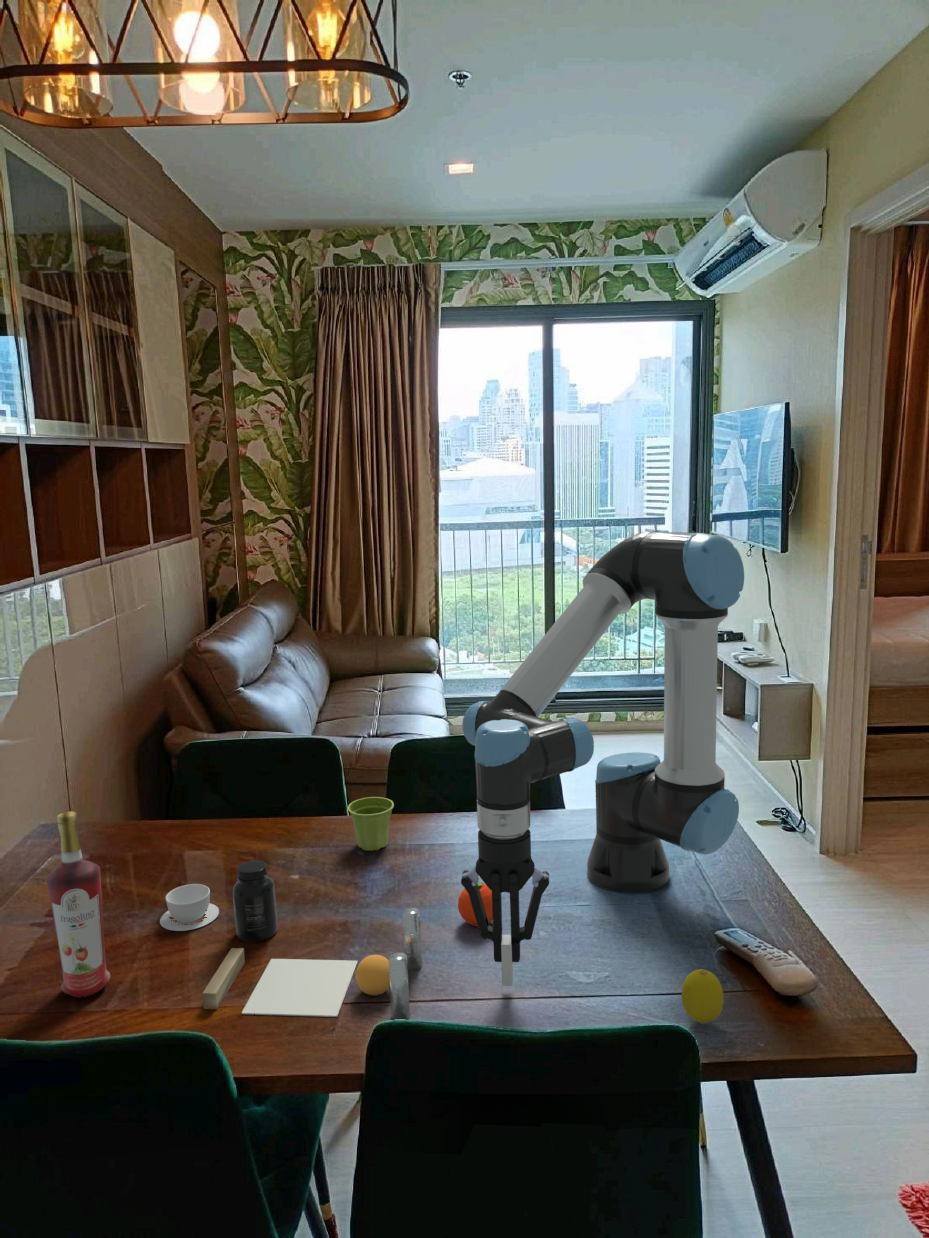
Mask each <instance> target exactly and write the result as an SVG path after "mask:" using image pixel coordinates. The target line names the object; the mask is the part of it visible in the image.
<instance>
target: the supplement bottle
mask: <svg viewBox="0 0 929 1238" xmlns="http://www.w3.org/2000/svg"><path fill="white" fill-rule="evenodd" d="M267 868H268V867H267V863H266V862H264V861H262V860H250V861H246V862H243V863H241V864H240V865H238V866H237V868H236V869H237V871H236V872H237V876H236V878H237V881H236V883H235V884H234V886H233V888H232V898H233V909H234V921H235V931H236V932H235V933H236V936H237V938H238V939H239V940H241V941H242V942H245V943H260V942H262V941H263V942H264V941H266V940H268V939H270V938H272V937H273V936H274V935H275V934H276V933H277V932H278V931H277V930H278V915H277V902H276V892H275V889H276V888H275V883H274V880H273V879H272V878H271V877H269V876H268V869H267Z"/></svg>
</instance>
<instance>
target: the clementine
mask: <svg viewBox="0 0 929 1238" xmlns="http://www.w3.org/2000/svg"><path fill="white" fill-rule="evenodd" d="M478 886H479V890H480V893H481V897H482V900H483V904H484V907H485V911H486V914H487V918H488V921H489V923H491V922H493V912H492V890H490V889H489V888H488V887H487V885H486V884H485V883H484V882H483V883H481V882H479V881H478ZM457 907H458V912H459V914H460V916H461V918H462V919H463V920H464V921H465V923H467V924H469V925H472V926H474V927H475V926H476V927H478V925H477V921H476V918H475V914H474V911H473V907H472V904H471V901H470V897H469V894H468V892H467V891H466V889H465V888H464V889H462V891H461V893H460V894H459V896H458V901H457Z"/></svg>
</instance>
